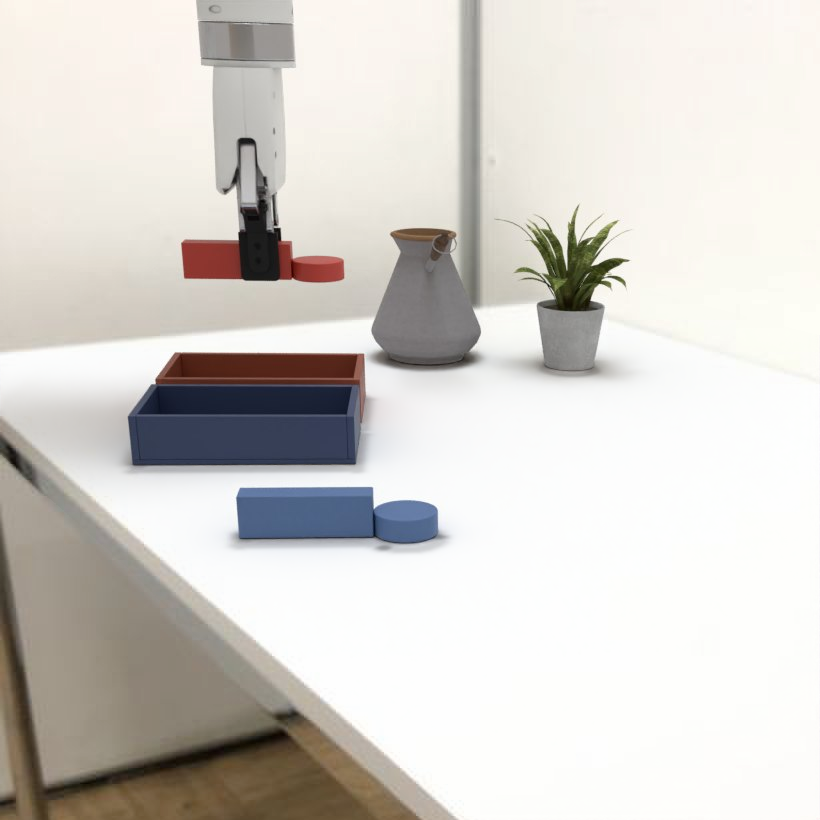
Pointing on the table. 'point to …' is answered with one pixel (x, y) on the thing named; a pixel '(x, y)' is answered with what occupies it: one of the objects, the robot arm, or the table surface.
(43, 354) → the table surface
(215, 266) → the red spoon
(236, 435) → the blue bin
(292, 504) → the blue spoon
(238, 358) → the red bin
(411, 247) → the coffee pot
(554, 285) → the house plant
